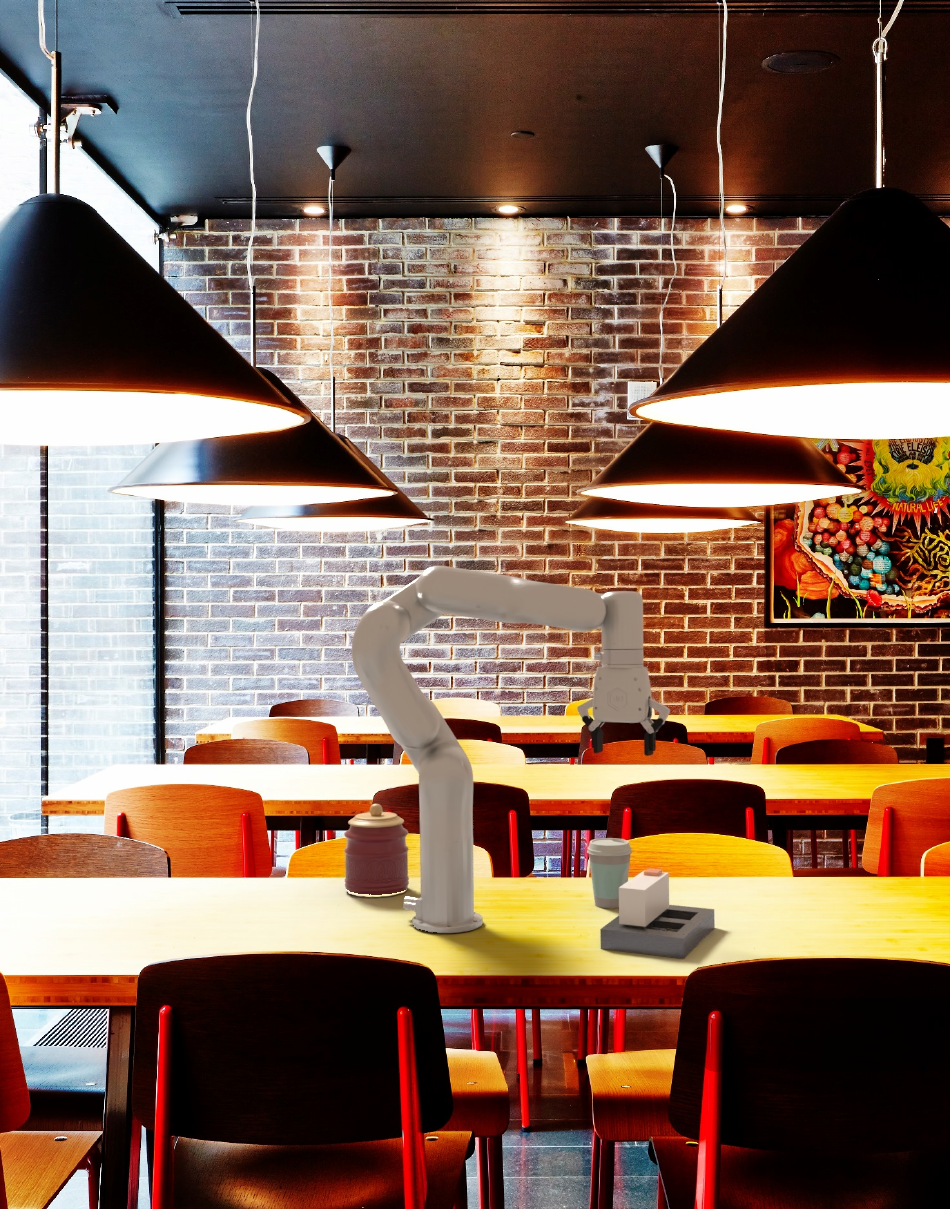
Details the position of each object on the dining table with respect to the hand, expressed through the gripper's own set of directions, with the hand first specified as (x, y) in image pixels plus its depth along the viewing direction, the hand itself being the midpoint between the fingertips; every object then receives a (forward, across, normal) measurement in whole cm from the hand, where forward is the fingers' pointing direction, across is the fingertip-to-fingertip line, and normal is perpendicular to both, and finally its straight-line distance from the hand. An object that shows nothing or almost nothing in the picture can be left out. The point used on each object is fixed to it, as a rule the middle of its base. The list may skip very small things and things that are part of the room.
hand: (623, 753), depth 201 cm
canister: (+31, -53, +1) cm, 61 cm away
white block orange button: (+30, +7, -8) cm, 32 cm away
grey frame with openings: (+30, +9, -8) cm, 32 cm away
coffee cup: (+30, -6, +10) cm, 32 cm away
